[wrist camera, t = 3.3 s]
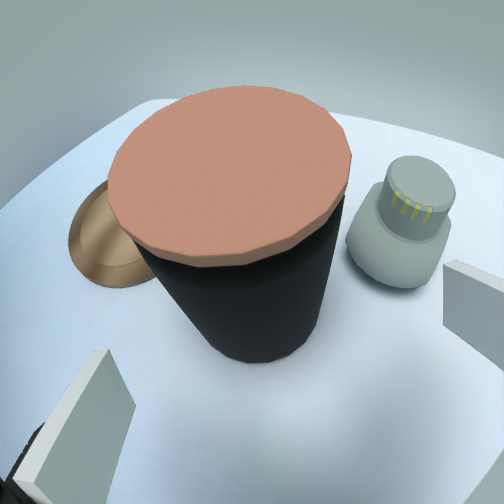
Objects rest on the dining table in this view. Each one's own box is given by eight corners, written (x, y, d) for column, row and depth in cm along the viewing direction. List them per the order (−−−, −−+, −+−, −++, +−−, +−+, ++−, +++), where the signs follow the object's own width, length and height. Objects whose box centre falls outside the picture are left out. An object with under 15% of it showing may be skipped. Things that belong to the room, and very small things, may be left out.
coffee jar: (233, 240, 32) (190, 76, 17) (335, 278, 29) (374, 110, 14) (177, 333, 28) (62, 206, 12) (288, 386, 24) (294, 308, 9)
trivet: (53, 273, 32) (47, 268, 31) (108, 170, 40) (104, 164, 39) (171, 301, 29) (167, 296, 28) (216, 175, 37) (214, 167, 36)
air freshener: (407, 313, 26) (454, 258, 18) (331, 270, 30) (347, 201, 21) (441, 229, 31) (477, 164, 22) (376, 195, 34) (395, 124, 25)
